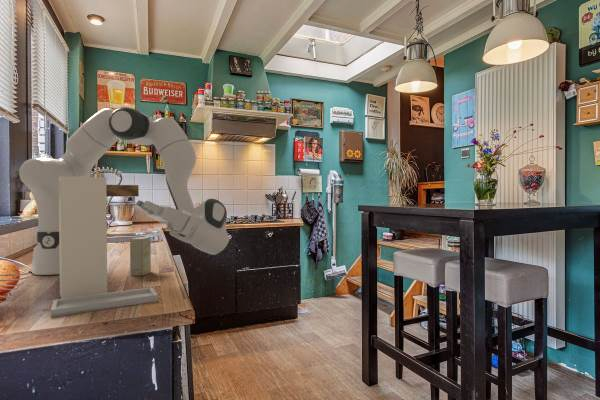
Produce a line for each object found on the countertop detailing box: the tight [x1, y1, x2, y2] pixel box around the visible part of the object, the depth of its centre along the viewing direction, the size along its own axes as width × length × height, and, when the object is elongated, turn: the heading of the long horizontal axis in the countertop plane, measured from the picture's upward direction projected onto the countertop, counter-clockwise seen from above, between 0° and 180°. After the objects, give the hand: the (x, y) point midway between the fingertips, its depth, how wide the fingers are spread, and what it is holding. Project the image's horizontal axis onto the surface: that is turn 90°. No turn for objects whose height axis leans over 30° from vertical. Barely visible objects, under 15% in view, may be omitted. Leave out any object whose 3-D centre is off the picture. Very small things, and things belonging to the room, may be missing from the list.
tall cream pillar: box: [59, 176, 108, 299], centre depth 93 cm, size 10×9×31 cm
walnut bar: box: [106, 184, 140, 197], centre depth 96 cm, size 18×3×3 cm, turn 127°
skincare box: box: [129, 236, 152, 277], centre depth 118 cm, size 6×4×12 cm
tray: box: [50, 286, 159, 318], centre depth 85 cm, size 22×9×2 cm, turn 122°
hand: (141, 202), depth 102 cm, fingers open, 8 cm apart
